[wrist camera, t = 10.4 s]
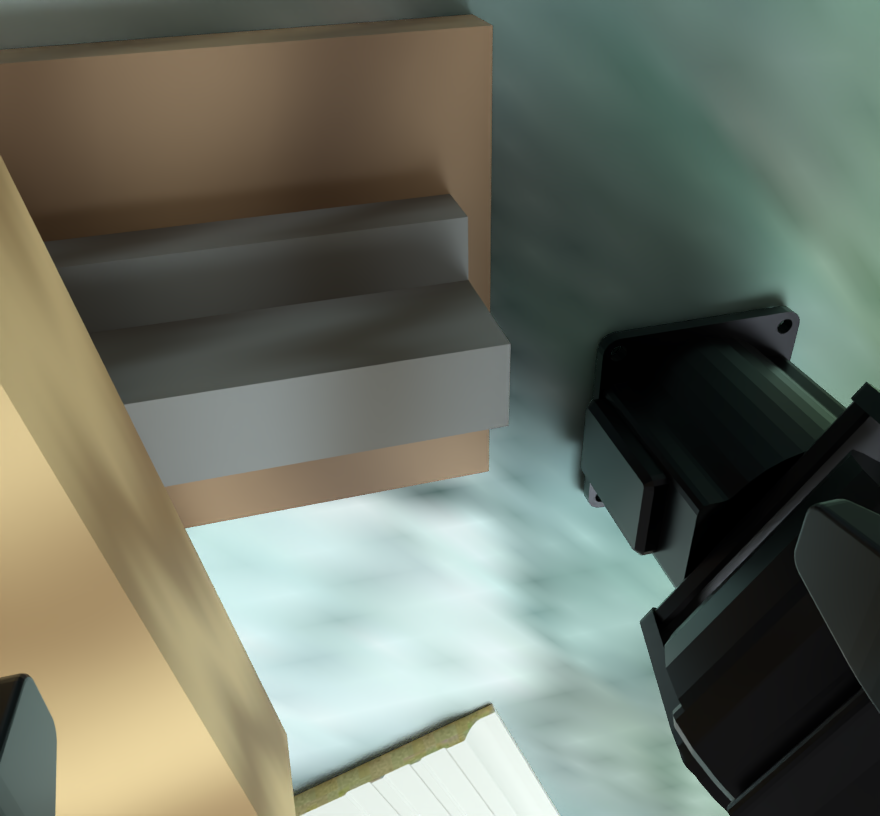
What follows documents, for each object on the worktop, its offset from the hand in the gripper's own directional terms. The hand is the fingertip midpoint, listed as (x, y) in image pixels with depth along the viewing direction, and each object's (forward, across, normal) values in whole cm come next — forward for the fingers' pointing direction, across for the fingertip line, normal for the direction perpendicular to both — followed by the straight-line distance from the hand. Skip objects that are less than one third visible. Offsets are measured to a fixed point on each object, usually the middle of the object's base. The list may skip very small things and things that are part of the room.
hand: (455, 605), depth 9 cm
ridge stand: (+13, +6, +2) cm, 14 cm away
